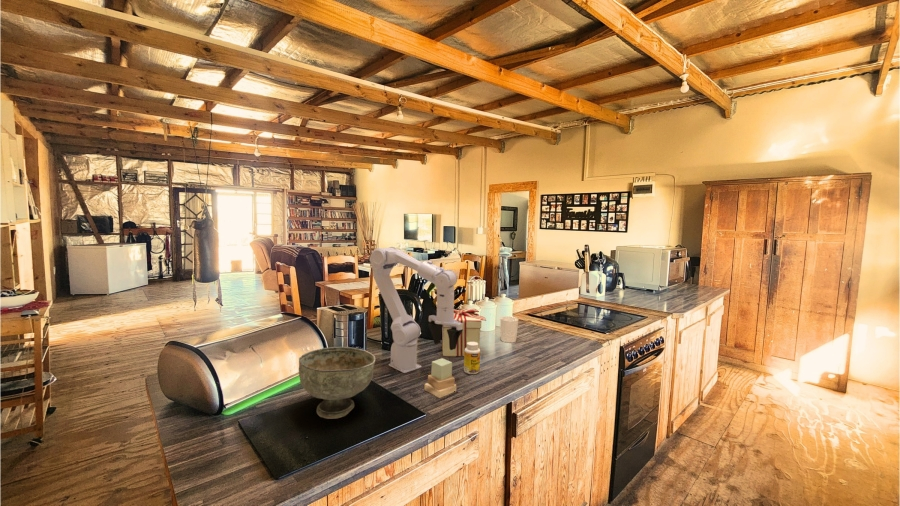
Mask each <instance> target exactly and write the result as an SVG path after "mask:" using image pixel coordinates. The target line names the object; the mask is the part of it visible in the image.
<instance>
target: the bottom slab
mask: <svg viewBox="0 0 900 506" xmlns="http://www.w3.org/2000/svg"><path fill="white" fill-rule="evenodd" d="M424 391H426V392H427V393H430V394H431V395H433V396H435V397H436V398H439V399H441V398H444V397H445V396H448V395H450V394H453V393H455V392H457V384H456V383H455V385H454V386H452V387H449V388H445V389H441V390H437V389H435V388H434V387H433V386H431V385H430V384H429V383H428V382H426V383H424ZM454 391H455V392H454Z"/></svg>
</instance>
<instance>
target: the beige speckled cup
mask: <svg viewBox="0 0 900 506" xmlns="http://www.w3.org/2000/svg"><path fill="white" fill-rule="evenodd" d="M499 319H500V324H499V326H500V327H499V328H500V341H502V342H503V343H509V344H511V343H516V342H517V336H518V329H519V328H518V327H519V318H518V317H515V316H507V315H506V316H500V318H499Z"/></svg>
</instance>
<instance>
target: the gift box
mask: <svg viewBox="0 0 900 506" xmlns="http://www.w3.org/2000/svg"><path fill="white" fill-rule="evenodd" d="M479 313H480V311H479V310H478V309H477V308H471V309H467V308H466V309H461V310H460V309H459V310H458V309H455V308H454V319H455V320H456V321H458V322H460V323H463V331H462V333H461V334H460V336H459V339H458V341H457V345H456V349H453V350H450V347H449V336H448V333H447V329H451V327H448V326H445V325H443V326H442V336H441V338H442V339H441V341H442V343H441V345H442V346H441V347H442V357H456V356H464V351H465V348H466V347H467V343H468V342H477V343H478V348H479V349H480V343H481V342H480V341H481V329H482V321H485V322H486V321H487V318H486V317H484V316H481V315H480V314H479Z"/></svg>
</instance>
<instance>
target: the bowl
mask: <svg viewBox="0 0 900 506" xmlns="http://www.w3.org/2000/svg"><path fill="white" fill-rule="evenodd" d="M375 363H376V356H375V355H374V354H373V353H372V352H369V351H367V350H365V349H362V348H361V349H360V348H358V347H350V346H330V347H323V348H319V349H314V350H312V351H308V352H305V353H304V354H302V355H301V356H300V357H298V376H299V382H300V384H301V386H302V388H303V389H304V390H305V391H306V393H308V394H309V395H311V397H313V398H316V399H322V400H323V401H321V402H320V403H318V405H317V407H316V414H317V415H318V416H319V417H320V418H323V419H327V420H329V419H331V420H332V419H339V418H344V417H346V416H347V415H348V414H349V413H350V412H351V411H352V410H353V409H354V408H355V402H354V400H353V399H351V398H353V397H355V396H357V395H358V394H359V393H361V392H363V391H364V390H365V389H366V388H367V387H368V386H369V385H370V383H371V382H372V379H373V377H374V369H375Z"/></svg>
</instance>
